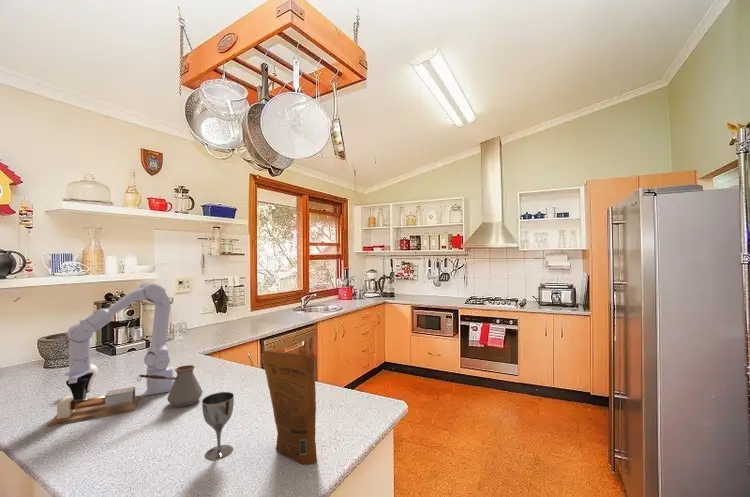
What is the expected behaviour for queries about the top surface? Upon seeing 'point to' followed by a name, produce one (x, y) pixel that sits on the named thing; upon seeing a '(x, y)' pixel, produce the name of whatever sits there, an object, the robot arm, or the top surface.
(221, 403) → the wine glass
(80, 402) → the brown piece
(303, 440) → the pancake mix bag
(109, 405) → the sleeve
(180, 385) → the coffee pot
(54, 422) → the walnut board
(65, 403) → the cream rectangular block
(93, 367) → the lightbulb
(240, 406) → the top surface
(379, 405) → the top surface
